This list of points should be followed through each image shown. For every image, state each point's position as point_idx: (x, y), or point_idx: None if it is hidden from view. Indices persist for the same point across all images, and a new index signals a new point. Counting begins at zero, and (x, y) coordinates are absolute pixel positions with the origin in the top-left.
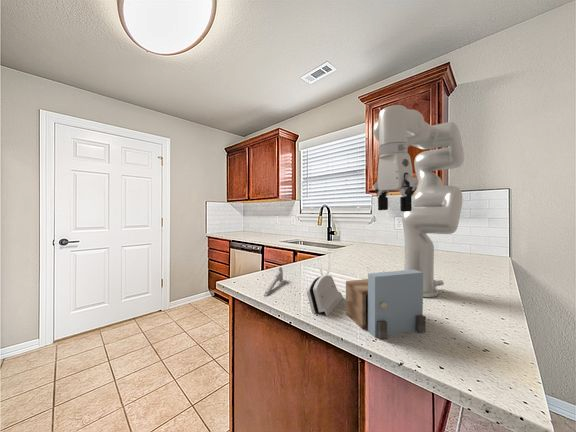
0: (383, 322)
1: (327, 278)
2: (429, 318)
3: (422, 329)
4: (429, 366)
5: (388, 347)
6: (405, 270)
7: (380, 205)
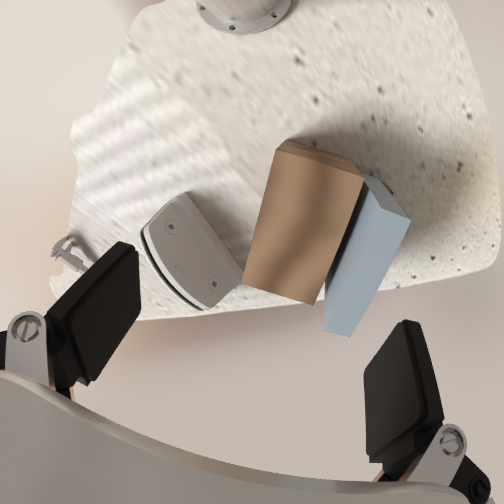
0: None
1: (164, 254)
2: (361, 119)
3: None
4: (423, 267)
5: None
6: (370, 239)
7: (124, 331)
